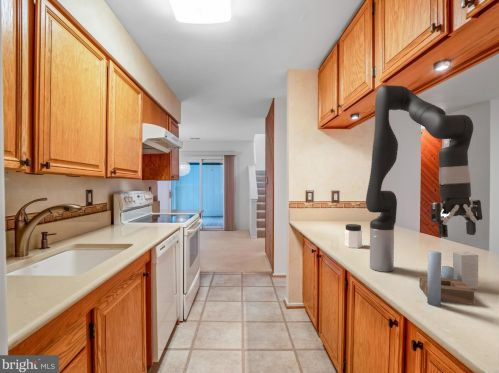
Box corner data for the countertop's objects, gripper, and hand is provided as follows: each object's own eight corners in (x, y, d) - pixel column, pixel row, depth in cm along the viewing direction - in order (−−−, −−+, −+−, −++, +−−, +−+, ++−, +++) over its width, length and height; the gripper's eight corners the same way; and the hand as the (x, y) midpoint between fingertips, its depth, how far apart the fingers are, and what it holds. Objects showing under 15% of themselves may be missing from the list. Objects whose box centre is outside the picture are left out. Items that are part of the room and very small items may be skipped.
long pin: (425, 300, 86) (426, 250, 86) (438, 302, 85) (439, 251, 84) (429, 305, 83) (430, 253, 82) (442, 307, 82) (443, 254, 81)
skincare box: (468, 284, 99) (468, 251, 98) (478, 288, 95) (479, 254, 94) (451, 284, 99) (452, 251, 98) (461, 289, 94) (462, 255, 94)
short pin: (440, 284, 99) (440, 265, 98) (451, 285, 98) (451, 266, 97) (443, 288, 95) (444, 268, 95) (455, 289, 94) (455, 269, 94)
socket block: (419, 287, 96) (419, 276, 96) (459, 291, 93) (459, 279, 93) (428, 299, 87) (428, 287, 87) (473, 304, 83) (474, 291, 83)
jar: (351, 243, 159) (351, 223, 159) (364, 246, 153) (364, 225, 153) (342, 246, 154) (342, 225, 154) (355, 249, 148) (355, 227, 147)
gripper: (465, 180, 86) (468, 232, 86) (422, 183, 85) (425, 235, 85) (488, 180, 78) (491, 236, 78) (441, 183, 77) (444, 240, 78)
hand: (457, 235), depth 82 cm, fingers open, 8 cm apart
